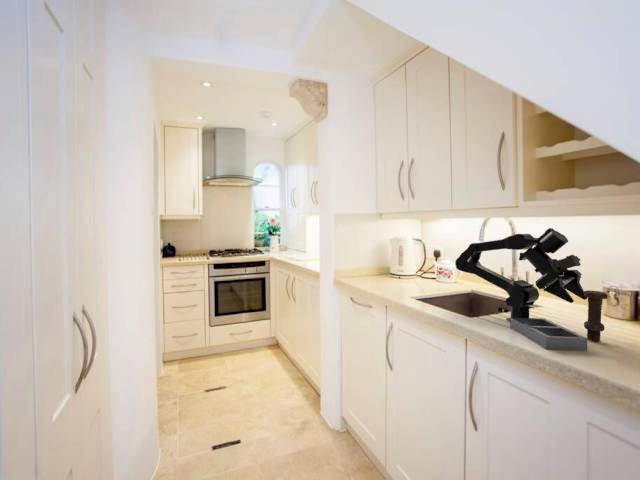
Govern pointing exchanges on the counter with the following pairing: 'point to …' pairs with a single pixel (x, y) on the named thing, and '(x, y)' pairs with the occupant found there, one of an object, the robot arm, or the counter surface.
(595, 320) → the bolt
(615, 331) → the counter surface
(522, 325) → the grey divided tray
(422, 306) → the counter surface
